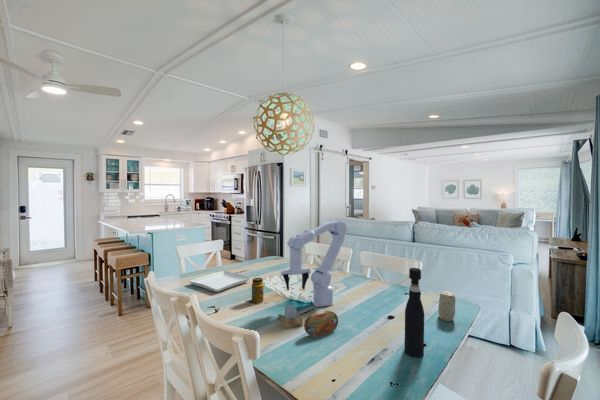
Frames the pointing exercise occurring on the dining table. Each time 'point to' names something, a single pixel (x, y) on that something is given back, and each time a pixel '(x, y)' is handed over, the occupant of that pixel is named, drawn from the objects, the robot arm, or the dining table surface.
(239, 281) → the square plate
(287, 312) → the panel block
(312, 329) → the tin
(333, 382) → the dining table surface
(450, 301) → the beige upright cylinder
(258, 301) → the condiment
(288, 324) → the wooden frame
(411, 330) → the wine bottle
